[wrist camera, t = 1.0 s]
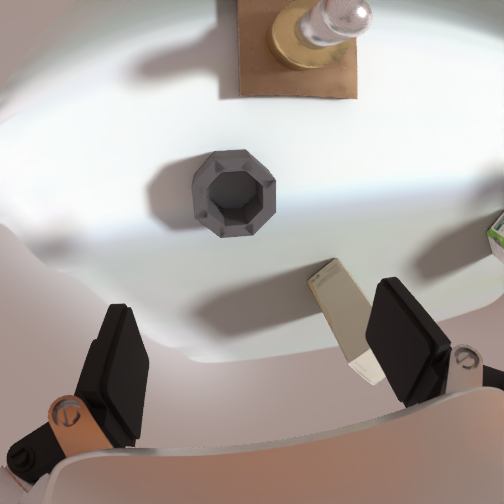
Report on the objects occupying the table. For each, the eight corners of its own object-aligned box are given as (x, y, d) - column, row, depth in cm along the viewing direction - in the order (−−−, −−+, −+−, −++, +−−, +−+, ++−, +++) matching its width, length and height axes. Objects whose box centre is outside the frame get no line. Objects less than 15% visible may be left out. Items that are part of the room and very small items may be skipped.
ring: (266, 148, 25) (275, 156, 22) (267, 215, 29) (275, 233, 25) (192, 153, 25) (189, 161, 21) (199, 221, 28) (197, 240, 24)
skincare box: (305, 280, 33) (343, 363, 22) (337, 255, 32) (390, 330, 21) (333, 310, 35) (372, 388, 25) (362, 288, 34) (411, 361, 24)
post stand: (346, 2, 19) (422, -37, 9) (350, 98, 24) (433, 107, 13) (236, -8, 18) (254, -75, 8) (239, 95, 23) (261, 90, 13)
